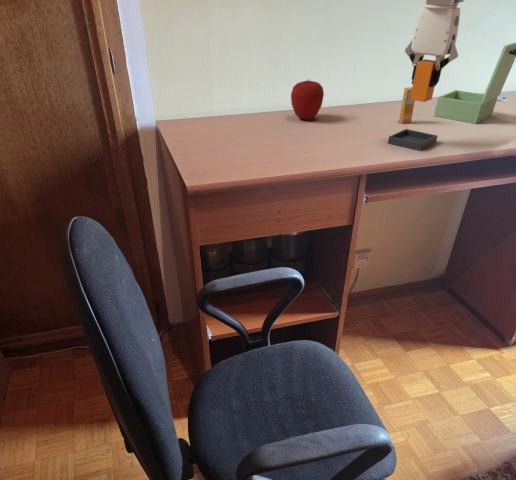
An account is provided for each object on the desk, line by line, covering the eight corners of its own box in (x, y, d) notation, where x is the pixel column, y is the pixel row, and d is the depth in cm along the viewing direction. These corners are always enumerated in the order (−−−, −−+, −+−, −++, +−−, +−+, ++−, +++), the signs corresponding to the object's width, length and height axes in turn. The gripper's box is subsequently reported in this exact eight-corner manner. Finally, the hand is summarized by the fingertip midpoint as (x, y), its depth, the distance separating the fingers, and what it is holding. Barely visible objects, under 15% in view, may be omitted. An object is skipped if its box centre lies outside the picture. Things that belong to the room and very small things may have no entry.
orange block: (431, 99, 124) (440, 61, 118) (424, 102, 122) (433, 63, 116) (417, 96, 126) (425, 59, 120) (409, 99, 124) (417, 61, 118)
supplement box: (397, 121, 149) (404, 86, 142) (407, 120, 149) (414, 86, 142) (400, 123, 146) (407, 89, 140) (411, 123, 146) (418, 89, 140)
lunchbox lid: (504, 45, 131) (523, 50, 129) (520, 40, 139) (538, 44, 137) (480, 102, 142) (497, 107, 140) (497, 94, 150) (513, 99, 148)
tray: (436, 142, 132) (437, 135, 130) (420, 150, 126) (421, 143, 125) (404, 135, 137) (405, 128, 136) (387, 143, 131) (388, 136, 130)
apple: (291, 113, 156) (293, 75, 148) (322, 115, 155) (325, 76, 147) (288, 122, 148) (289, 82, 140) (320, 123, 146) (324, 83, 139)
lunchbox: (433, 115, 154) (438, 97, 150) (451, 108, 162) (455, 90, 158) (475, 123, 146) (481, 104, 142) (491, 115, 154) (497, 96, 150)
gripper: (482, 1, 108) (459, 87, 120) (417, -3, 116) (402, 78, 128) (470, 2, 103) (447, 92, 115) (403, -1, 112) (389, 82, 124)
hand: (424, 83), depth 122 cm, fingers closed on orange block, 4 cm apart
